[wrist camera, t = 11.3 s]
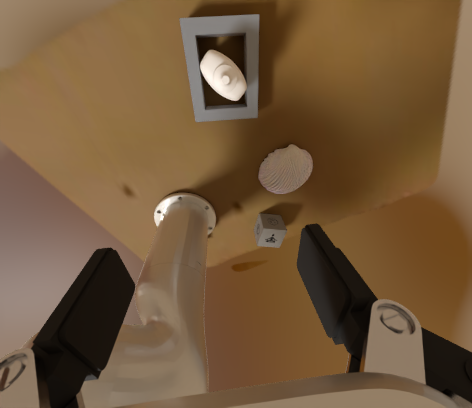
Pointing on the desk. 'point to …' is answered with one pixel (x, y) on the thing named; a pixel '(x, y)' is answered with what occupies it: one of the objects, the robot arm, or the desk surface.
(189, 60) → the bottle holder
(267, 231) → the dice cube
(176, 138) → the desk surface
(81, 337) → the robot arm
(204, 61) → the eye dropper bottle
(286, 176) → the seashell
